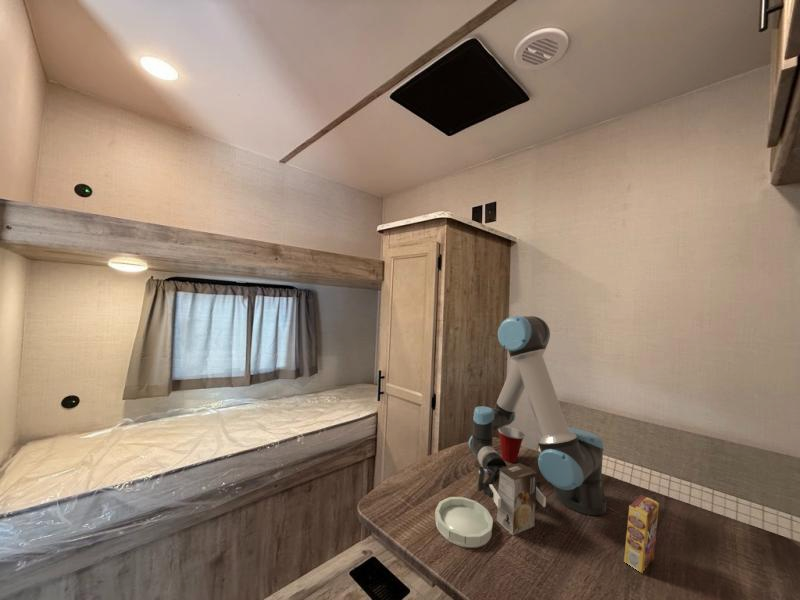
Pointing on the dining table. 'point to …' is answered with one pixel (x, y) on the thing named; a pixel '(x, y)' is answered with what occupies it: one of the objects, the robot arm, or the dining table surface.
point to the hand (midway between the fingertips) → (522, 502)
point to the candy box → (641, 533)
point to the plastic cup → (510, 443)
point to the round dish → (464, 522)
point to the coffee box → (517, 498)
